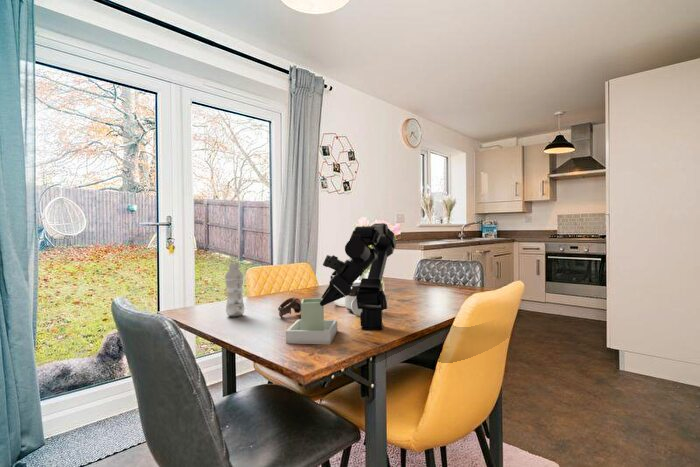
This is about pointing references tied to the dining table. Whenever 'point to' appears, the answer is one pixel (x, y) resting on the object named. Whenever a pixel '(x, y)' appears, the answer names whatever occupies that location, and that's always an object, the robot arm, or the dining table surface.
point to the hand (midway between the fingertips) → (321, 301)
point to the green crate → (312, 315)
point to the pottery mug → (290, 306)
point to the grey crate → (311, 333)
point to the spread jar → (353, 299)
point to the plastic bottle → (234, 290)
